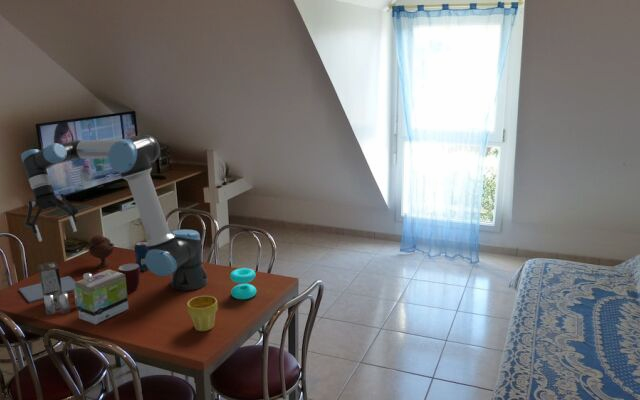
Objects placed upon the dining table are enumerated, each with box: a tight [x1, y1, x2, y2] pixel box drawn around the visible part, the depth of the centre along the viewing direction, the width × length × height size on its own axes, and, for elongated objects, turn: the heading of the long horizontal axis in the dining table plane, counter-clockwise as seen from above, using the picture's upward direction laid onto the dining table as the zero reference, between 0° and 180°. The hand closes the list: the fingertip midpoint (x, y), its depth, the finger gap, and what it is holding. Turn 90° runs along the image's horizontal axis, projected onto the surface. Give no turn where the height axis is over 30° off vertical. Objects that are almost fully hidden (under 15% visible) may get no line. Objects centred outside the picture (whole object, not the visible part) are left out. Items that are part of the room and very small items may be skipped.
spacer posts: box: [43, 272, 93, 315], centre depth 225 cm, size 17×21×7 cm
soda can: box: [134, 240, 150, 271], centre depth 257 cm, size 7×7×12 cm
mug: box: [118, 262, 141, 293], centre depth 234 cm, size 11×8×10 cm
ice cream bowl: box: [88, 234, 115, 269], centre depth 260 cm, size 11×11×15 cm
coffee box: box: [37, 261, 62, 310], centre depth 222 cm, size 9×6×16 cm
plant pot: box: [186, 295, 219, 332], centre depth 203 cm, size 10×10×10 cm
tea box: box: [75, 269, 129, 325], centre depth 214 cm, size 15×10×15 cm, turn 148°
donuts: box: [229, 267, 258, 300], centre depth 228 cm, size 10×10×10 cm
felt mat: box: [18, 275, 76, 304], centre depth 237 cm, size 16×20×1 cm
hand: (58, 236), depth 233 cm, fingers open, 13 cm apart
